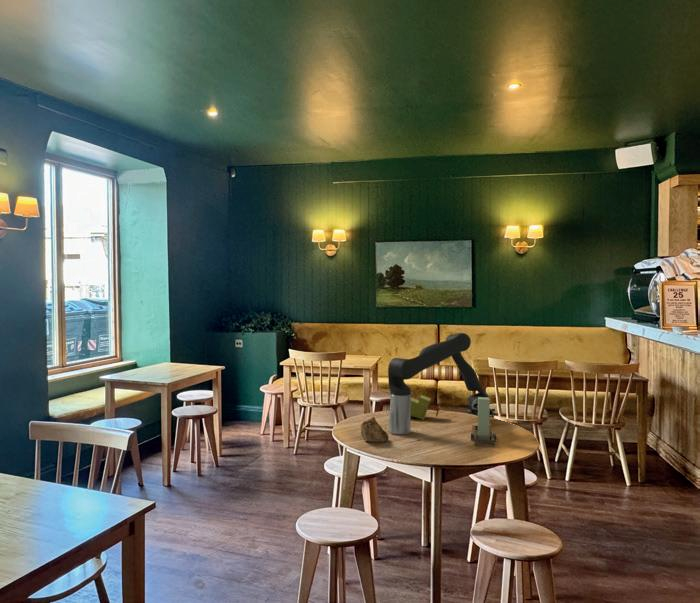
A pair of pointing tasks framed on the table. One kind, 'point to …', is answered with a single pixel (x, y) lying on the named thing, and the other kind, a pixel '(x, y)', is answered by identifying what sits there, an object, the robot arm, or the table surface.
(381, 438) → the decorative rock
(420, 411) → the toy
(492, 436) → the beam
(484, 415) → the block
